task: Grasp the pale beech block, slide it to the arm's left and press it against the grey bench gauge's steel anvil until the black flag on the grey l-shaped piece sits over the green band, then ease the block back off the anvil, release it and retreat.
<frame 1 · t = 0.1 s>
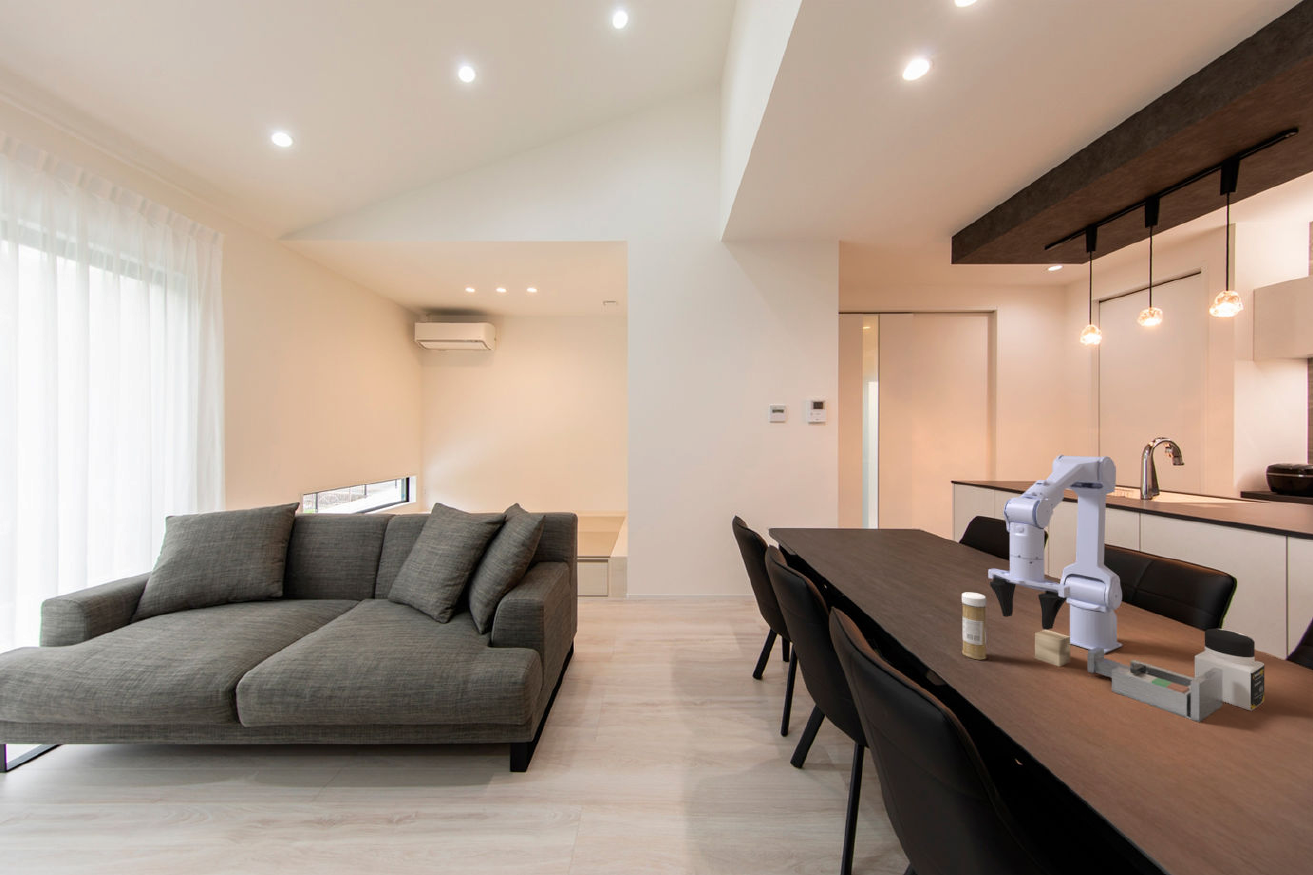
hand: (1026, 621, 102), 10 cm above the table, tool pointing down, fingers open, 7 cm apart
grey l-shaped piece: (1115, 668, 96), point 3 cm above the table, slide at 0.0 cm
sprinkles bottle: (973, 656, 108), on the table
gauge housing: (1145, 691, 93), on the table
block: (1052, 660, 106), on the table
medicine bottle: (1228, 698, 91), on the table
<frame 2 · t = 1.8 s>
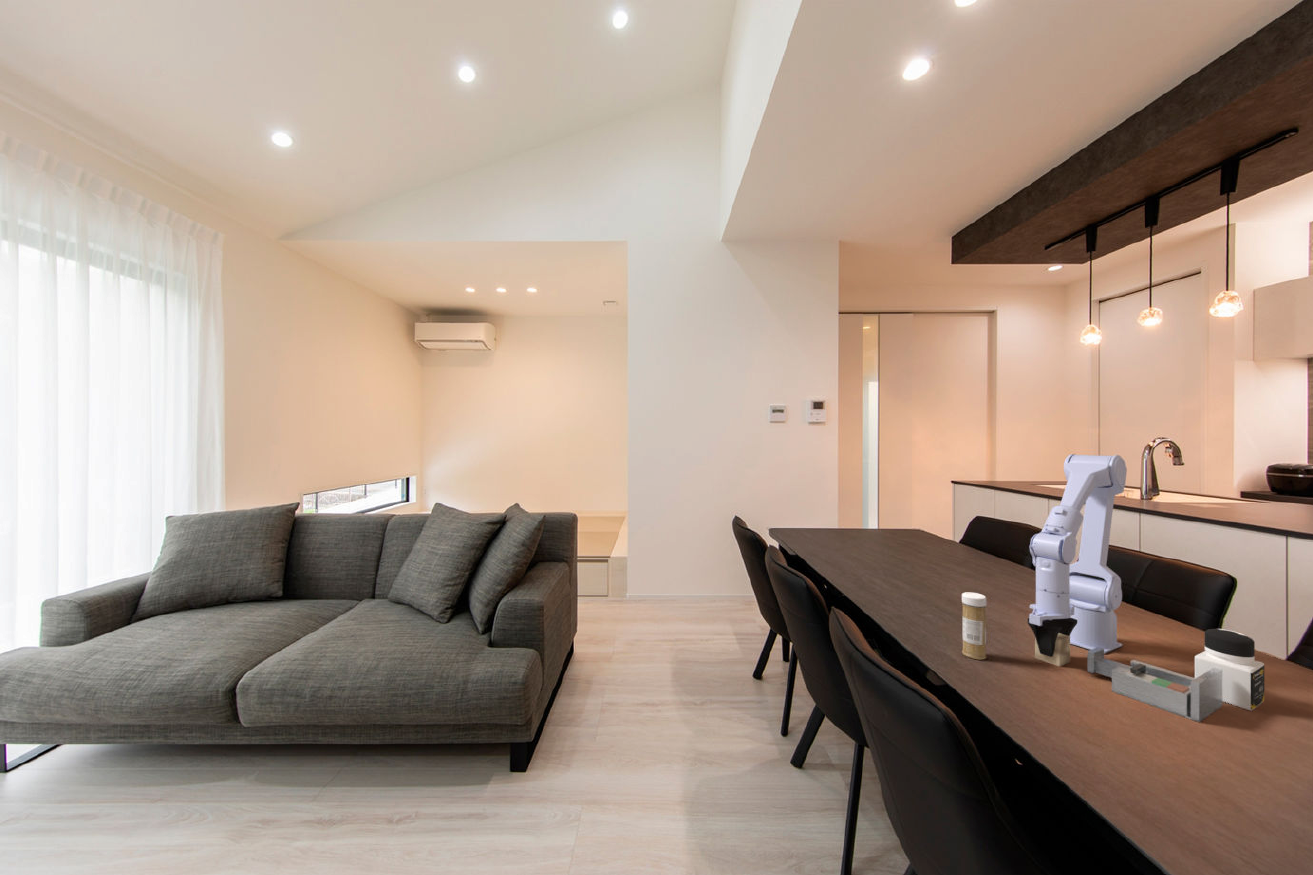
hand: (1052, 652, 106), 2 cm above the table, tool pointing down, fingers closed on block, 4 cm apart
block: (1052, 659, 106), on the table, touching gripper
everything else where it was.
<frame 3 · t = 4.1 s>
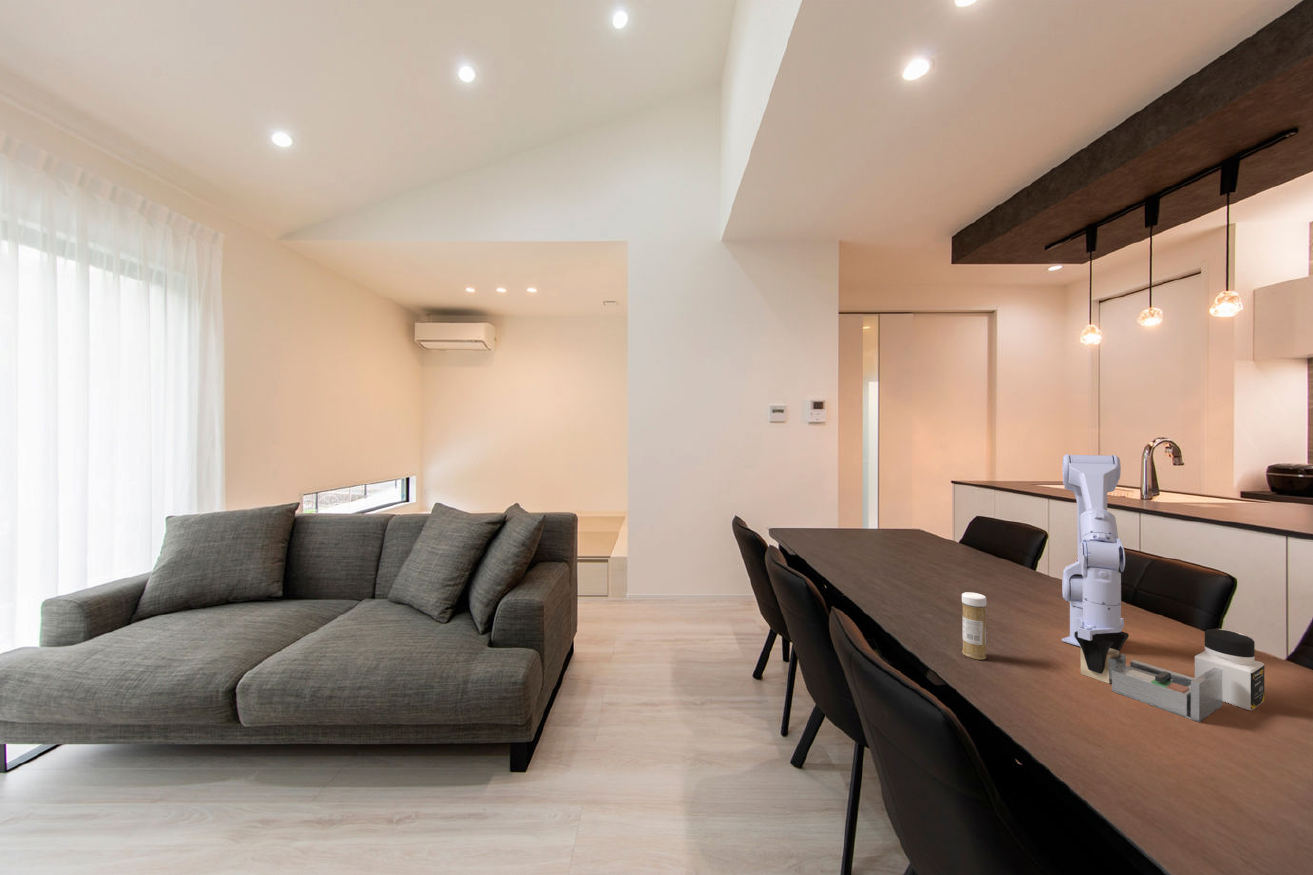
hand: (1101, 668, 99), 2 cm above the table, tool pointing down, fingers closed on block, 4 cm apart
grey l-shaped piece: (1139, 675, 93), point 3 cm above the table, slide at 3.4 cm, touching block
block: (1099, 675, 99), on the table, touching gripper, grey l-shaped piece
everything else where it was.
when the fingers open (2 cm above the table, at t = 5.3 s): block stays where it is, on the table.
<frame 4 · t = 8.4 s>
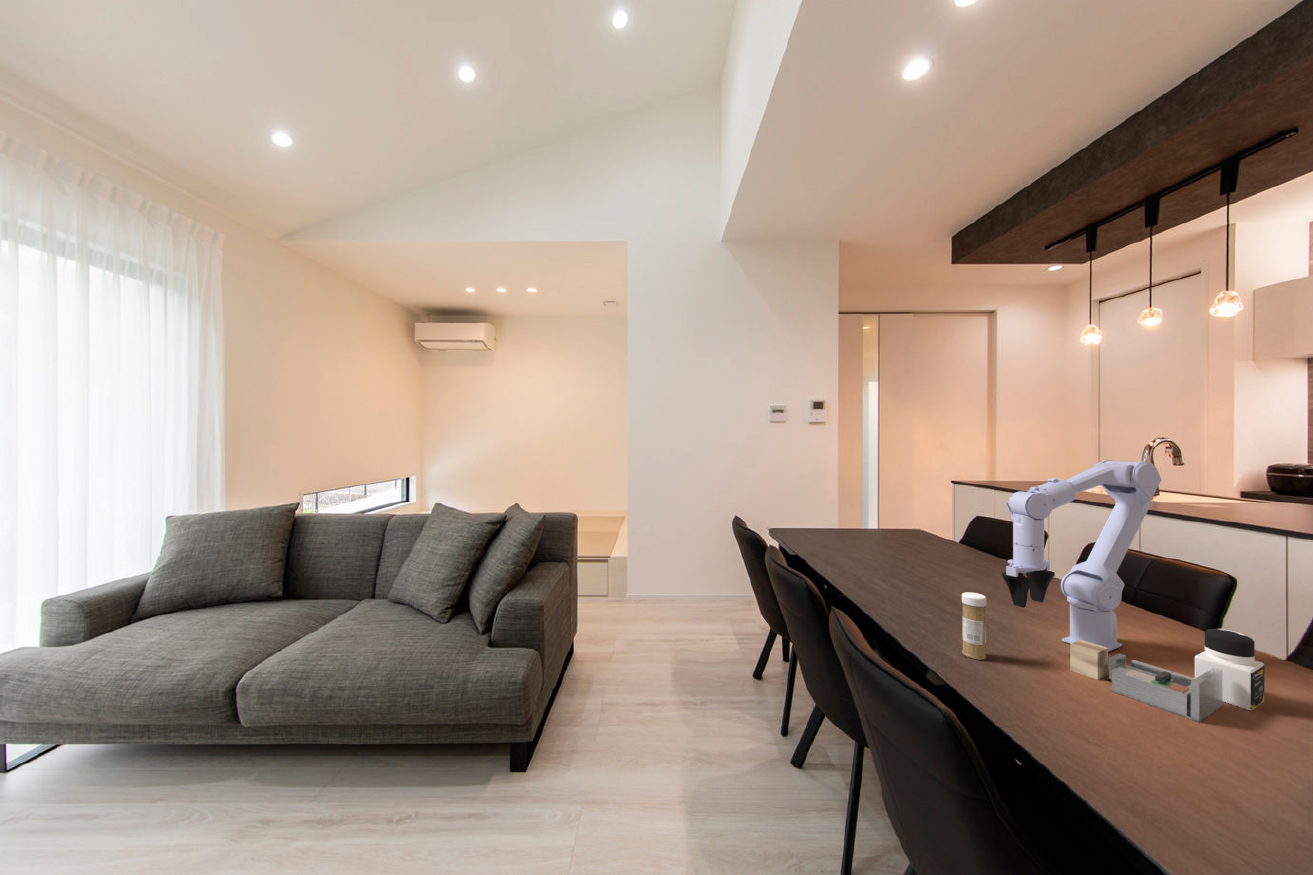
hand: (1028, 603, 113), 10 cm above the table, tool pointing down, fingers open, 7 cm apart
grey l-shaped piece: (1139, 675, 93), point 3 cm above the table, slide at 3.4 cm
block: (1089, 672, 101), on the table
everything else where it was.
at the end: grey l-shaped piece slide at 3.4 cm; the gripper is holding nothing; block tilted 0° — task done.
